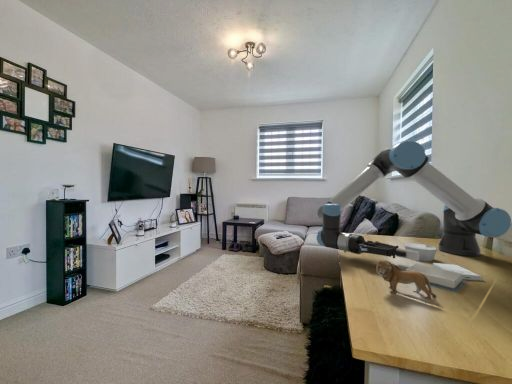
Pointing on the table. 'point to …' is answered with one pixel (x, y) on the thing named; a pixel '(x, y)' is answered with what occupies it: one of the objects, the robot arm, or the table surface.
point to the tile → (438, 275)
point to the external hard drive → (458, 271)
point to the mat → (441, 286)
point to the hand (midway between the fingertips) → (418, 256)
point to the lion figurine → (402, 277)
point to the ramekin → (422, 251)
